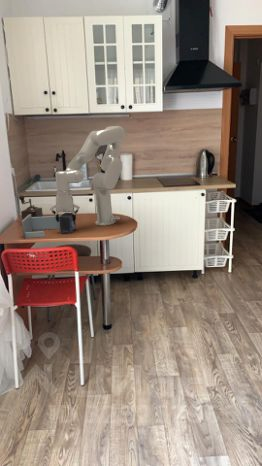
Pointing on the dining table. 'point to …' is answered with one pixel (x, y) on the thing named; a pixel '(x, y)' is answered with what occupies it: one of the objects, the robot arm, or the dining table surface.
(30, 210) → the coffee grinder
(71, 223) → the small box
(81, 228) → the dining table surface
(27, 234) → the shelf
